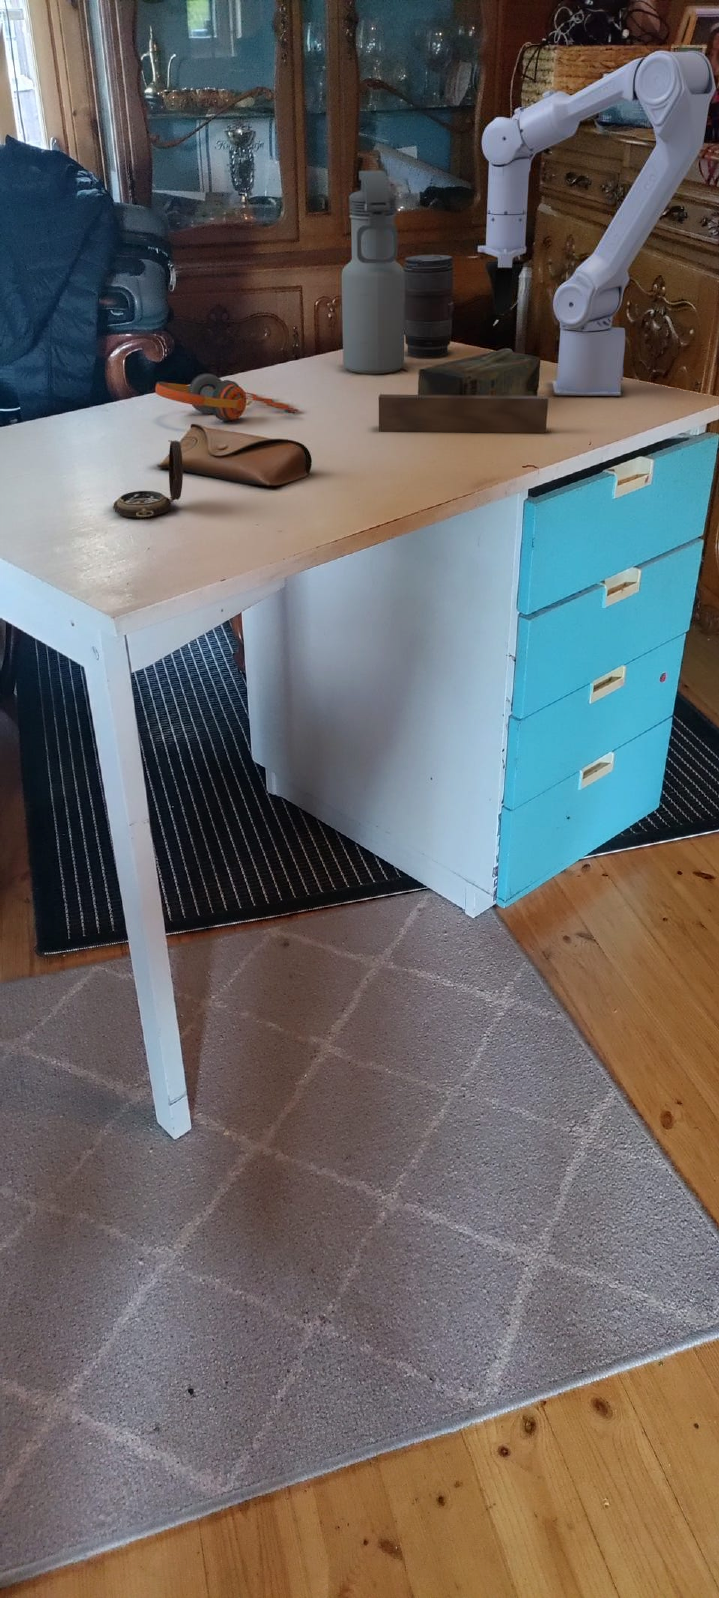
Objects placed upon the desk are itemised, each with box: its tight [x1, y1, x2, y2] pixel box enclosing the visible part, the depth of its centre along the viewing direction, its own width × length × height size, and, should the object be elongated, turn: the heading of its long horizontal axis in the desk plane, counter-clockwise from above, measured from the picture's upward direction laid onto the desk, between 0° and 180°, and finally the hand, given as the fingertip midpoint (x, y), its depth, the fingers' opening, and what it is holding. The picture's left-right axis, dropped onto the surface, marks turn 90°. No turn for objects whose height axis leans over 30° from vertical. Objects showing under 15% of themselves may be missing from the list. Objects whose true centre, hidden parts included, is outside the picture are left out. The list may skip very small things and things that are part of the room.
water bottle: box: [341, 169, 405, 375], centre depth 183 cm, size 10×10×28 cm
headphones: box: [155, 373, 299, 422], centre depth 165 cm, size 17×5×20 cm
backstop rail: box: [378, 393, 549, 434], centre depth 156 cm, size 22×2×4 cm, turn 84°
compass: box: [112, 439, 184, 518], centre depth 128 cm, size 8×8×7 cm
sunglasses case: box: [156, 423, 313, 487], centre depth 142 cm, size 18×7×7 cm
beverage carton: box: [417, 348, 541, 396], centre depth 166 cm, size 8×19×7 cm, turn 138°
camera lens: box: [403, 254, 454, 359], centre depth 196 cm, size 8×8×15 cm
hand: (502, 313), depth 179 cm, fingers closed
